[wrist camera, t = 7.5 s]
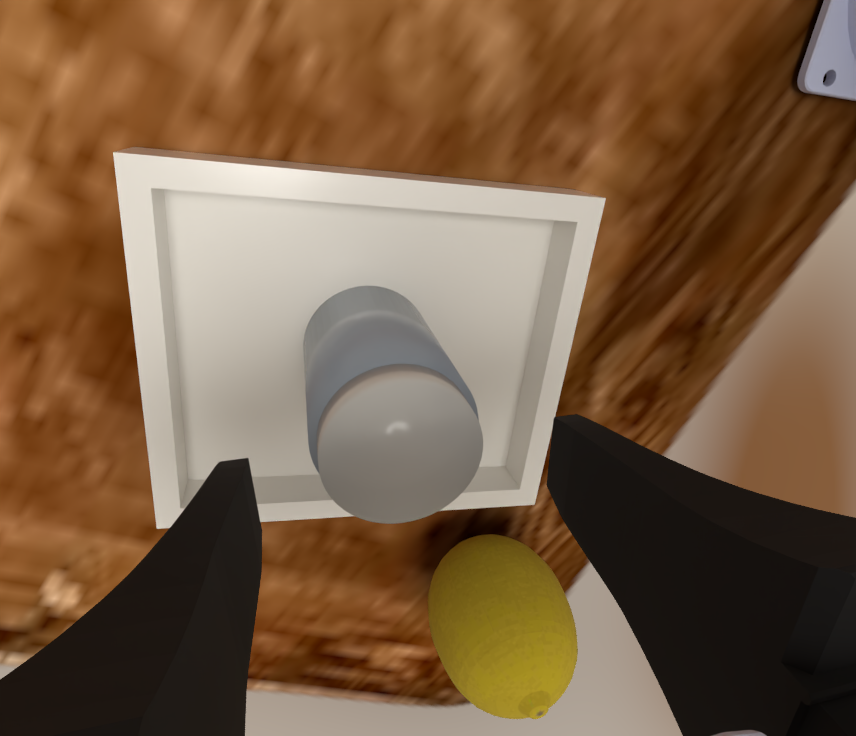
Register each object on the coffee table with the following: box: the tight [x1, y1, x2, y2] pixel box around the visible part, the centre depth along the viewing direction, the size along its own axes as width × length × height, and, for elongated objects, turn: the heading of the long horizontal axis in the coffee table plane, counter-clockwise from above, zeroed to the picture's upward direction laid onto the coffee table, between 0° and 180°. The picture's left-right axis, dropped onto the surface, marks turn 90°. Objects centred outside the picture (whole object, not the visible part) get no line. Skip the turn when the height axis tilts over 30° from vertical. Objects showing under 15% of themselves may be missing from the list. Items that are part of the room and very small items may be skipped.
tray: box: [113, 147, 606, 529], centre depth 19 cm, size 14×12×2 cm
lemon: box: [428, 534, 578, 719], centre depth 22 cm, size 6×6×8 cm
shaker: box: [303, 286, 483, 524], centre depth 16 cm, size 4×4×7 cm
